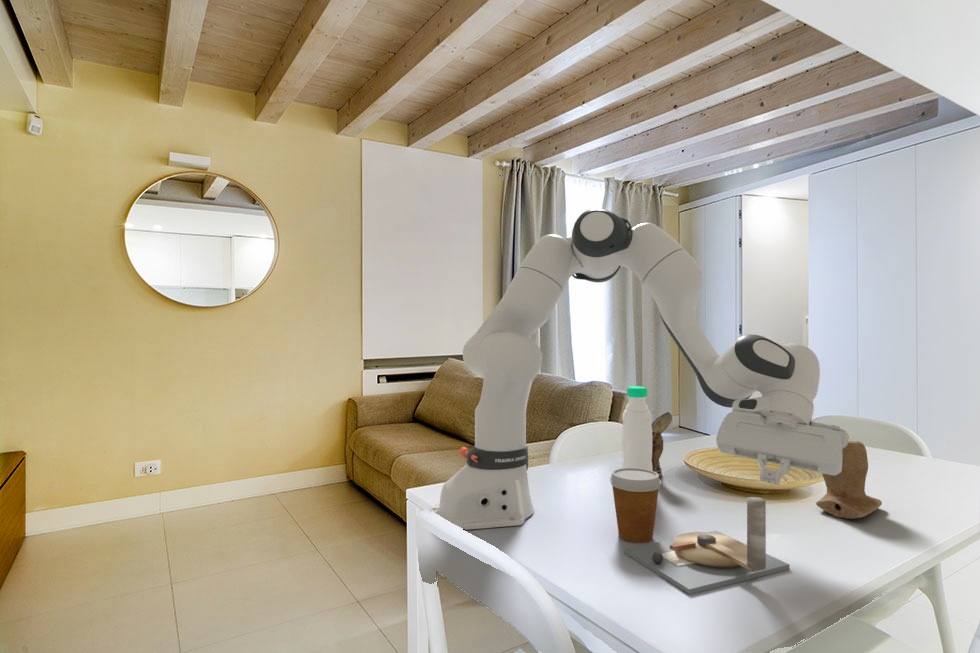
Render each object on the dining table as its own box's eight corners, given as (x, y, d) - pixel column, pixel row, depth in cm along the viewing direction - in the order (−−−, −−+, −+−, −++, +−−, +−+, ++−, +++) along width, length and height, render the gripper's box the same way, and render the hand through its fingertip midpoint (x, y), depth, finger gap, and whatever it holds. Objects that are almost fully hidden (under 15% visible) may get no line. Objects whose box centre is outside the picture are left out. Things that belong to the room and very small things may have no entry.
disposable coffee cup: (603, 527, 110) (603, 467, 110) (650, 526, 110) (650, 466, 110) (619, 547, 100) (618, 481, 100) (669, 545, 101) (669, 480, 101)
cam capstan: (653, 544, 98) (653, 476, 98) (713, 533, 103) (713, 469, 102) (724, 588, 82) (724, 508, 82) (793, 574, 86) (792, 497, 86)
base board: (689, 594, 83) (689, 577, 83) (624, 553, 98) (624, 538, 98) (789, 569, 91) (789, 553, 91) (715, 534, 106) (715, 521, 106)
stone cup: (827, 495, 128) (827, 431, 128) (888, 509, 119) (888, 439, 119) (799, 510, 119) (799, 440, 119) (863, 526, 109) (863, 450, 109)
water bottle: (649, 486, 137) (649, 385, 136) (655, 495, 130) (654, 388, 129) (620, 485, 137) (620, 385, 137) (624, 494, 130) (624, 388, 130)
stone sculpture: (655, 486, 137) (654, 413, 136) (619, 472, 149) (618, 406, 148) (681, 481, 141) (681, 410, 140) (644, 468, 153) (644, 403, 152)
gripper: (849, 438, 99) (839, 506, 92) (729, 418, 111) (711, 477, 104) (850, 417, 95) (839, 487, 88) (725, 399, 107) (706, 458, 100)
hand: (769, 481), depth 96 cm, fingers closed
